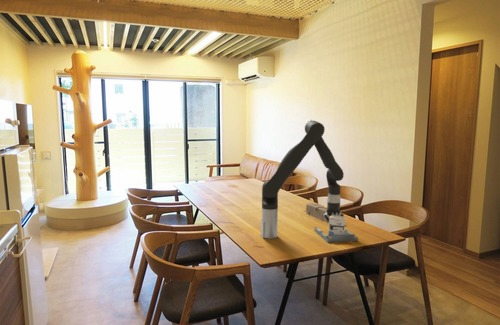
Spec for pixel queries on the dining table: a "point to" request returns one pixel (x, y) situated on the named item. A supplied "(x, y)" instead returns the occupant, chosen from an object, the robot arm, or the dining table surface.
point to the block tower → (316, 211)
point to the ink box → (336, 225)
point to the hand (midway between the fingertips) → (332, 228)
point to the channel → (337, 236)
